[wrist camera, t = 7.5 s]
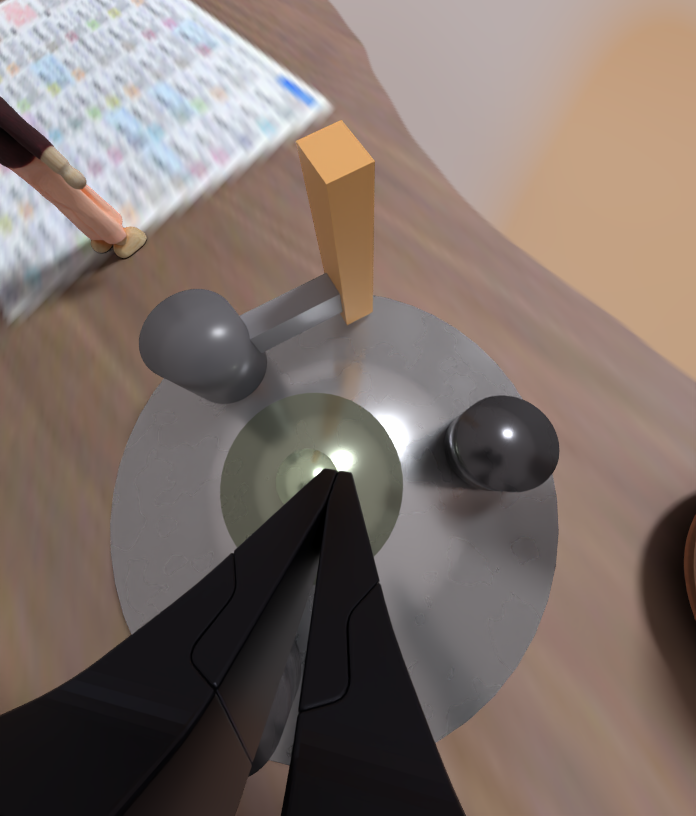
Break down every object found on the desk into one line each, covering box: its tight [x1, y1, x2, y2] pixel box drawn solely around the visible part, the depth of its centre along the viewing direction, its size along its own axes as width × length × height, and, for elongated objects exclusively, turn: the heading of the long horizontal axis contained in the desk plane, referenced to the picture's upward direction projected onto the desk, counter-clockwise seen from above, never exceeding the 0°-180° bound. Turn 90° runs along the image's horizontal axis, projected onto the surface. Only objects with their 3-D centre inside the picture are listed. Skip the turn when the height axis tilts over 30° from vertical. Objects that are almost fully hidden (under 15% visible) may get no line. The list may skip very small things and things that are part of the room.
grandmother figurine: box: [0, 97, 147, 258], centre depth 16 cm, size 8×4×13 cm, turn 81°
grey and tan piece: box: [139, 120, 375, 404], centre depth 13 cm, size 12×5×8 cm, turn 118°
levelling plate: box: [110, 295, 559, 777], centre depth 14 cm, size 24×24×5 cm
